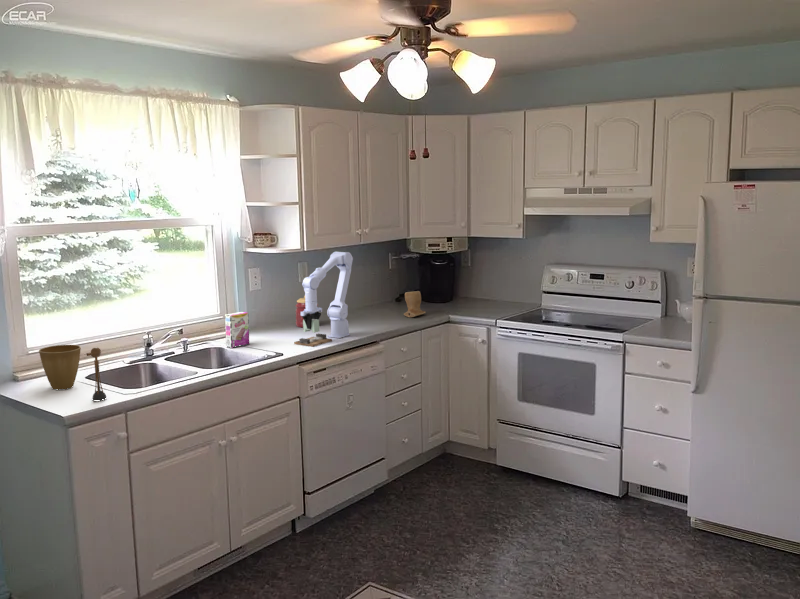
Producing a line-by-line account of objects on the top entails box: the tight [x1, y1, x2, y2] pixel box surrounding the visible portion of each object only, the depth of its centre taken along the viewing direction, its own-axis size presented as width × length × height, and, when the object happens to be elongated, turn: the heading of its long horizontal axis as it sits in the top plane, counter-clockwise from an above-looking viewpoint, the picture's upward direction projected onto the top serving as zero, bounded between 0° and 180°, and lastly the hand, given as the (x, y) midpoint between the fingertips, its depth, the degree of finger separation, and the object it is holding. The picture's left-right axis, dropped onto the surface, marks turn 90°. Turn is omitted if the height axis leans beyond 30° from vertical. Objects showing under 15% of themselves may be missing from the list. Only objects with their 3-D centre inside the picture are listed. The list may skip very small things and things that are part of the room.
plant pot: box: [38, 344, 82, 391], centre depth 282 cm, size 15×15×16 cm
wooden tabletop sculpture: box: [86, 346, 107, 401], centre depth 264 cm, size 6×5×20 cm
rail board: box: [293, 332, 333, 347], centre depth 358 cm, size 15×12×3 cm
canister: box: [294, 295, 319, 328], centre depth 401 cm, size 13×13×18 cm
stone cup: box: [403, 290, 426, 318], centre depth 426 cm, size 15×12×15 cm
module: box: [302, 318, 321, 334], centre depth 357 cm, size 4×7×6 cm, turn 58°
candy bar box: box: [224, 311, 250, 349], centre depth 352 cm, size 11×5×16 cm, turn 141°
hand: (312, 328), depth 357 cm, fingers closed on module, 4 cm apart
